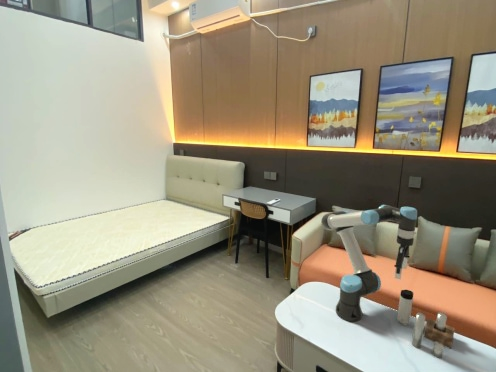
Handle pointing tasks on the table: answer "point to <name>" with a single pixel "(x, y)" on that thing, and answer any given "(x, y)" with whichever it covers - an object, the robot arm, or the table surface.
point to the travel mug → (405, 307)
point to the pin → (441, 321)
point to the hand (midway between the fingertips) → (400, 273)
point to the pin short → (438, 349)
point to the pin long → (418, 330)
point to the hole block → (439, 333)
